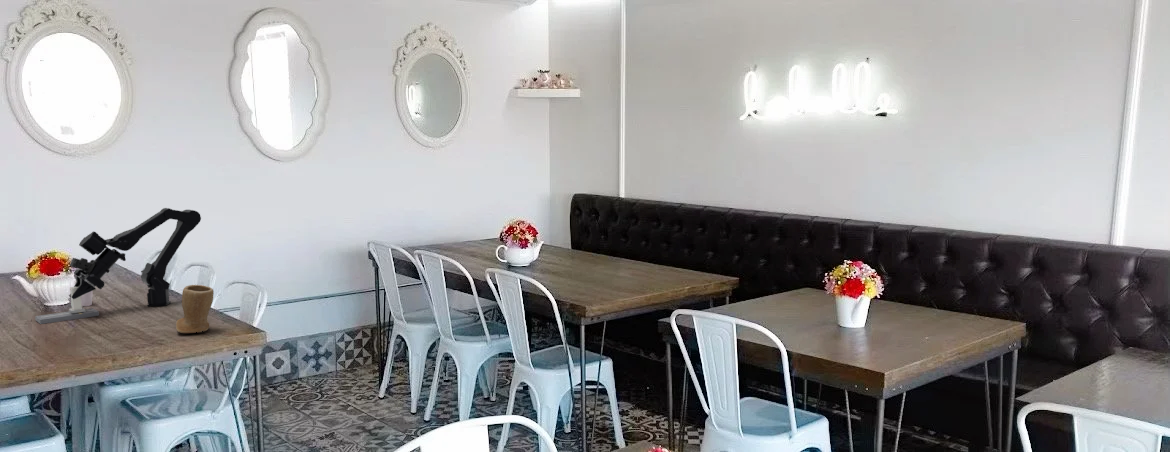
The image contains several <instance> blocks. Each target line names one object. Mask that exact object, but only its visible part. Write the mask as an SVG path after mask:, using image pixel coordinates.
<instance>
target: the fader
mask: <svg viewBox="0 0 1170 452" xmlns="http://www.w3.org/2000/svg"><path fill="white" fill-rule="evenodd" d="M77 288H78V287H74V286H72V287H69V291H70V292H69V295H70V294H71V297H70V303H71V307H70V308H68V312H71V313H78V312H85V309H86V308H84V307H83V306H82V305H81V296H80V297H78V298H76V299H73V298H72V295H73V294H74V292H75V291H76V289H77Z"/></svg>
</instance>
